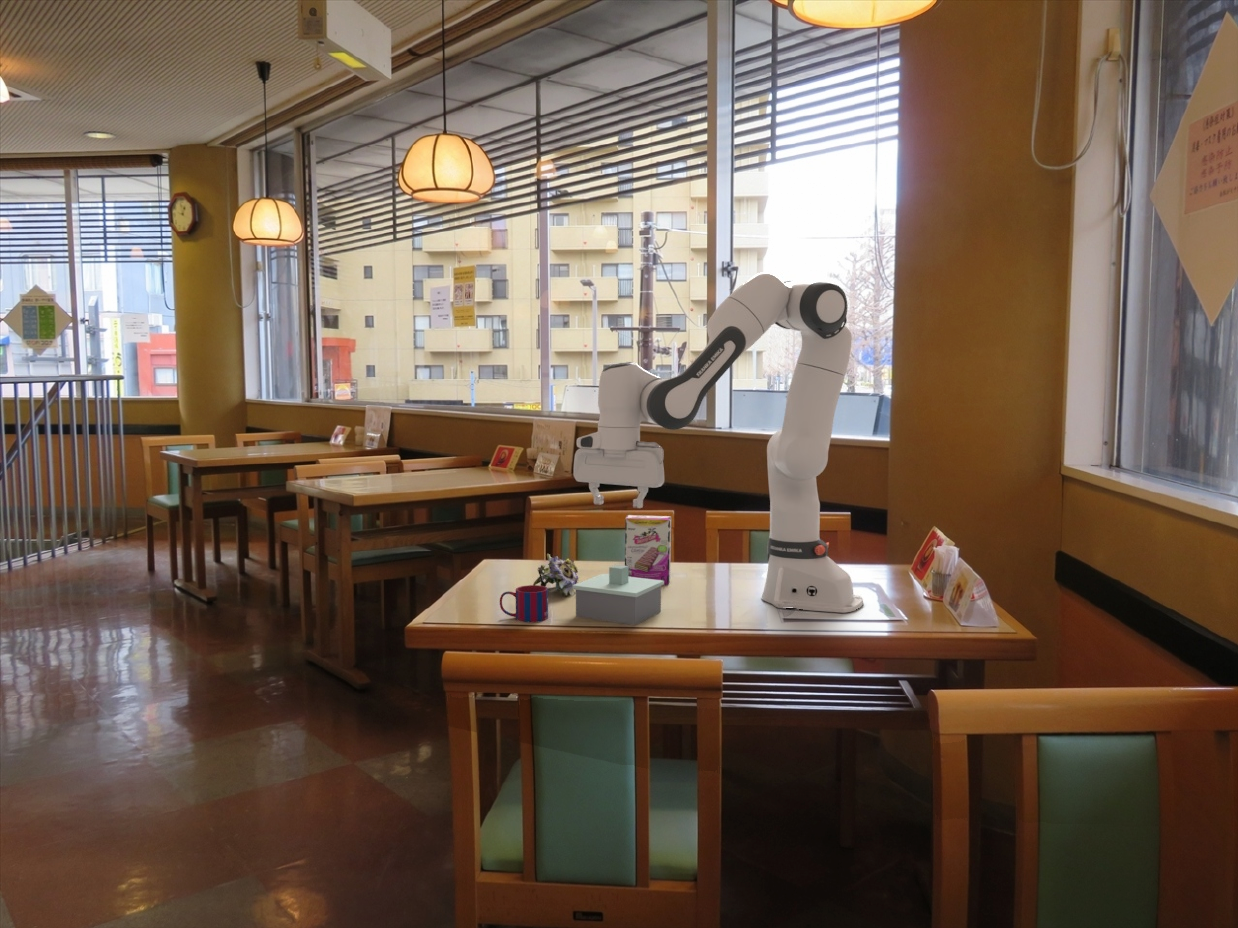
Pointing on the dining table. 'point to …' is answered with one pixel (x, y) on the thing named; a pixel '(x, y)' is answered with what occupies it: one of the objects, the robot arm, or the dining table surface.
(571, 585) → the passion flower
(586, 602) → the box
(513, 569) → the dining table surface
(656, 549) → the candy bar box
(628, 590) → the lid
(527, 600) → the mug
